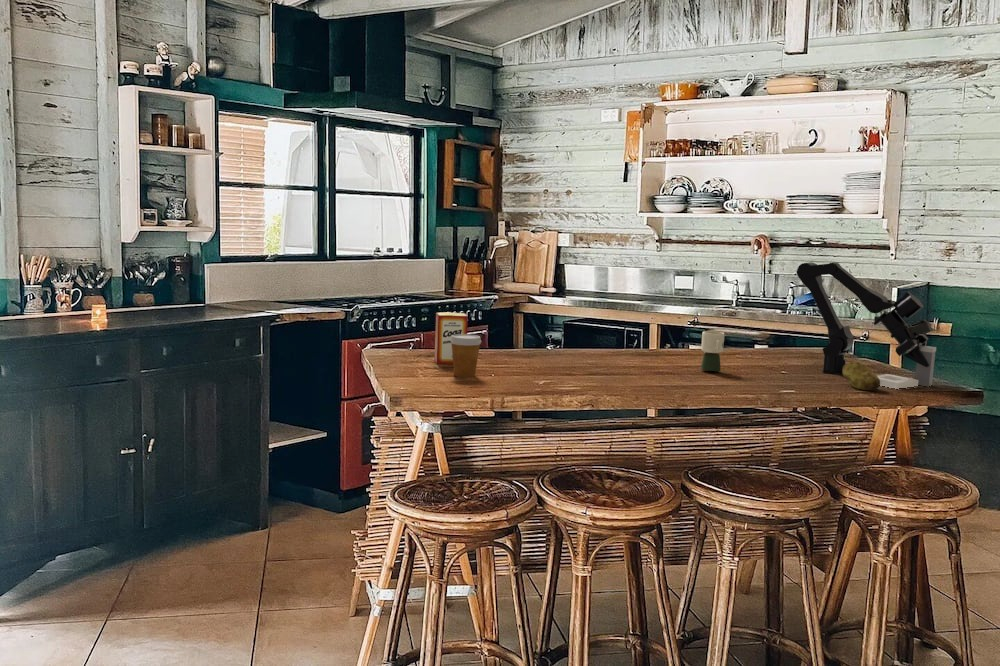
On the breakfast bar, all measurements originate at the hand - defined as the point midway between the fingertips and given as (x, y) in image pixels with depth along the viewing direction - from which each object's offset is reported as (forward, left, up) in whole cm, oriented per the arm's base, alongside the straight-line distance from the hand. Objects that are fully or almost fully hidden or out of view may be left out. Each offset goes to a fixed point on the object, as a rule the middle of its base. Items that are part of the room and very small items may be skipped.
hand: (929, 365), depth 313 cm
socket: (-10, -6, -7) cm, 14 cm away
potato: (-19, -18, -7) cm, 27 cm away
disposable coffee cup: (-128, -74, -7) cm, 148 cm away
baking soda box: (-142, -56, -7) cm, 153 cm away
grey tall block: (-1, 0, -7) cm, 7 cm away
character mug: (-65, -19, -7) cm, 68 cm away
